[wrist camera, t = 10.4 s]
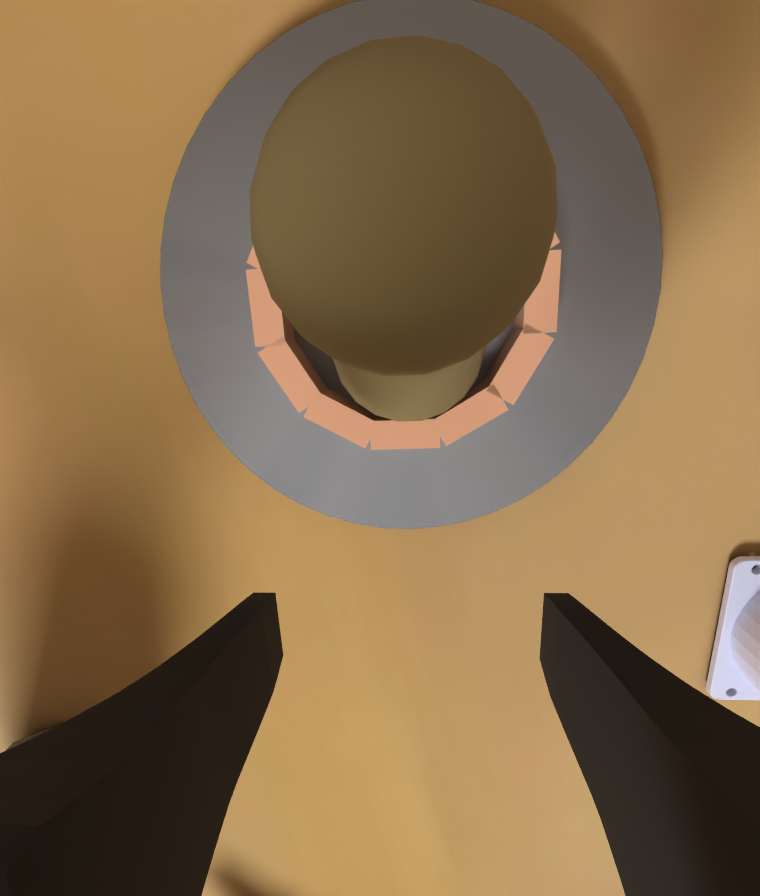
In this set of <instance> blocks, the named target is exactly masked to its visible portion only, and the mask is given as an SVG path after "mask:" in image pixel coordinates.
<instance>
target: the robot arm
mask: <svg viewBox="0 0 760 896" xmlns="http://www.w3.org/2000/svg"><path fill="white" fill-rule="evenodd" d="M755 565H757V566H756V568H754V569H753V570H751V569H752V567H754V566H755ZM282 658H283V650H282V642H281V634H280V626H279V619H278V611H277V603H276V595H275V593H253V594H251V595H250V596H249V597H247V598H246V599H245V600H244V601H242V602H241V603H240V604H239V605H237V606H236V607H235V608H234V609H232V610H231V611H230V612H229V613H228V614H226V615H225V616H224V617H223V618H221V619H220V620H219V621H218V622H216V623H215V624H214V625H213V626H211V627H210V628H209V629H208V630H206V631H205V632H204V633H203V634H202V635H200V636H199V637H198V638H196V639H195V640H194V641H192V642H191V643H190V644H188V645H187V646H186V647H184V648H183V649H182V650H180V651H179V652H178V653H176V654H175V655H174V656H172V657H171V658H169V659H168V660H167V661H165V662H164V663H163V664H161V665H160V666H158V667H157V668H155V669H154V670H153V671H151V672H150V673H148V674H147V675H145V676H144V677H142V678H141V679H139V680H137V681H136V682H134V683H133V684H131V685H129V686H128V687H126V688H125V689H123V690H121V691H120V692H118V693H116V694H115V695H113V696H111V697H110V698H108V699H106V700H104V701H103V702H101V703H99V704H97V705H95V706H94V707H92V708H90V709H88V710H86V711H85V712H83V713H81V714H79V715H77V716H75V717H74V718H72V719H70V720H68V721H66V722H65V723H63V724H61V725H59V726H57V727H55V728H53V729H51V730H49V731H47V732H45V733H43V734H41V735H39V736H37V737H35V738H32V739H30V740H28V741H26V742H24V743H22V744H20V745H17V746H15V747H13V748H11V749H9V750H7V751H4V752H2V753H0V896H201V895H202V891H203V888H204V884H205V881H206V878H207V874H208V871H209V867H210V864H211V860H212V857H213V854H214V850H215V847H216V844H217V841H218V837H219V834H220V831H221V828H222V825H223V821H224V818H225V815H226V812H227V808H228V805H229V802H230V800H231V797H232V794H233V791H234V789H235V786H236V783H237V781H238V778H239V776H240V773H241V771H242V768H243V766H244V763H245V761H246V759H247V756H248V754H249V751H250V749H251V746H252V744H253V741H254V739H255V736H256V734H257V732H258V729H259V727H260V724H261V722H262V719H263V717H264V714H265V712H266V709H267V707H268V704H269V702H270V699H271V696H272V694H273V691H274V687H275V684H276V680H277V677H278V673H279V669H280V665H281V661H282ZM540 661H541V665H542V668H543V672H544V676H545V679H546V683H547V686H548V689H549V693H550V696H551V699H552V701H553V704H554V706H555V709H556V711H557V714H558V716H559V719H560V721H561V723H562V726H563V728H564V731H565V733H566V735H567V738H568V740H569V742H570V745H571V747H572V749H573V752H574V754H575V757H576V759H577V761H578V764H579V766H580V768H581V771H582V773H583V776H584V778H585V780H586V783H587V785H588V787H589V790H590V792H591V794H592V797H593V800H594V802H595V805H596V808H597V810H598V813H599V815H600V818H601V821H602V824H603V827H604V830H605V833H606V836H607V839H608V842H609V845H610V848H611V851H612V854H613V857H614V860H615V864H616V867H617V870H618V873H619V876H620V879H621V882H622V885H623V889H624V892H625V895H626V896H760V727H758V726H756V725H755V724H753V723H751V722H749V721H747V720H746V719H744V718H742V717H741V716H739V715H737V714H735V713H734V712H732V711H730V710H728V709H727V708H725V707H724V706H722V705H720V704H719V703H717V702H716V701H714V700H712V699H711V698H709V697H708V696H706V695H704V694H703V693H701V692H699V691H698V690H696V689H695V688H693V687H692V686H690V685H689V684H687V683H686V682H684V681H683V680H681V679H680V678H678V677H677V676H675V675H674V674H672V673H671V672H670V671H668V670H667V669H665V668H664V667H662V666H661V665H660V664H658V663H657V662H655V661H654V660H653V659H651V658H650V657H648V656H647V655H646V654H644V653H643V652H642V651H640V650H639V649H638V648H636V647H635V646H634V645H632V644H631V643H630V642H629V641H627V640H626V639H625V638H623V637H622V636H621V635H620V634H618V633H617V632H616V631H615V630H613V629H612V628H611V627H610V626H608V625H607V624H606V623H605V622H603V621H602V620H601V619H600V618H598V617H597V616H596V615H595V614H594V613H592V612H591V611H590V610H589V609H587V608H586V607H585V606H584V605H583V604H581V603H580V602H579V601H578V600H576V599H575V598H574V597H572V596H571V595H570V594H568V593H544V602H543V617H542V633H541V648H540ZM706 690H707V692H708V693H709V694H710V695H711V696H712V697H713V698H715V699H723V700H760V556H740V557H737V558H735V559H733V560H732V561H731V562H730V565H729V569H728V574H727V579H726V584H725V590H724V595H723V600H722V605H721V611H720V616H719V621H718V626H717V631H716V637H715V642H714V647H713V652H712V658H711V663H710V668H709V673H708V679H707V684H706Z"/></svg>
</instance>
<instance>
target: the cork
mask: <svg viewBox="0 0 760 896" xmlns="http://www.w3.org/2000/svg"><path fill="white" fill-rule="evenodd" d="M250 219H251V239H252V243H253V246H254V250H255V253H256V256H257V259H258V262H259V265H260V268H261V270H262V273H263V276H264V279H265V282H266V284H267V287H268V290H269V293H270V296H271V298H272V299H273V301H274V302H275V303H276V305H277V306H278V307H279V308H280V310H281V311H282V312H283V314H284V315H285V316H286V317H287V319H288V320H289V321H290V323H291V324H292V325H293V326H294V328H295V329H296V330H297V332H298V333H299V334H300V335H301V336H302V337H303V338H305V339H306V340H307V341H308V342H310V343H311V344H313V345H314V346H316V347H317V348H319V349H320V350H322V351H323V352H325V353H326V354H328V355H329V356H331V357H332V358H333V360H334V363H335V366H336V369H337V372H338V375H339V377H340V380H341V383H342V384H343V386H344V387H345V388H346V390H347V391H348V392H349V394H350V395H351V396H352V397H353V399H354V400H355V401H356V402H357V403H358V404H360V405H361V406H363V407H364V408H366V409H367V410H369V411H370V412H372V413H373V414H375V415H377V416H380V417H384V418H387V419H391V420H394V421H398V422H401V421H423V420H425V419H428V418H431V417H434V416H436V415H439V414H442V413H445V412H446V411H447V410H449V409H450V408H451V407H452V406H454V405H455V404H456V403H458V402H459V401H460V400H461V399H463V398H464V397H465V395H466V394H467V392H468V391H469V389H470V388H471V386H472V385H473V384H474V382H475V381H476V379H477V378H478V374H479V371H480V368H481V364H482V361H483V358H484V354H485V348H486V345H487V344H488V343H490V342H491V341H492V340H493V339H495V338H496V337H497V336H499V335H500V334H501V333H502V332H504V331H505V330H506V329H507V327H508V326H509V325H510V324H511V323H512V322H513V320H514V319H515V317H516V316H517V315H518V313H519V312H520V310H521V309H522V307H523V306H524V304H525V303H526V301H527V300H528V298H529V297H530V296H531V294H532V293H533V291H534V290H535V288H536V287H537V285H538V284H539V282H540V280H541V277H542V274H543V270H544V267H545V264H546V260H547V257H548V254H549V250H550V247H551V243H552V240H553V237H554V233H555V227H556V221H557V185H556V165H555V162H554V159H553V156H552V154H551V151H550V148H549V146H548V143H547V140H546V137H545V135H544V132H543V129H542V127H541V124H540V121H539V119H538V117H537V115H536V113H535V111H534V110H533V108H532V106H531V104H530V103H529V102H528V101H527V100H526V98H525V97H524V96H523V95H522V93H521V92H520V91H519V90H518V89H517V87H516V86H515V85H514V84H513V82H512V81H511V80H510V79H509V78H508V76H507V75H506V74H505V73H504V71H503V70H502V69H501V68H499V67H497V66H496V65H494V64H492V63H491V62H489V61H487V60H486V59H484V58H482V57H481V56H479V55H478V54H476V53H474V52H473V51H471V50H469V49H468V48H466V47H464V46H463V45H459V44H455V43H450V42H446V41H441V40H436V39H432V38H427V37H423V36H418V35H414V36H405V37H396V38H386V39H377V40H370V41H367V42H365V43H363V44H361V45H358V46H356V47H354V48H352V49H349V50H347V51H345V52H343V53H340V54H338V55H336V56H334V57H331V58H329V59H327V60H326V61H325V62H324V63H323V64H321V65H320V66H319V67H318V68H317V69H316V70H315V71H313V72H312V73H311V74H310V75H309V76H308V77H306V78H305V79H304V80H303V81H302V82H301V83H300V84H298V85H297V86H296V87H295V88H294V89H293V90H292V91H291V93H290V94H289V96H288V97H287V99H286V101H285V102H284V104H283V105H282V107H281V109H280V110H279V112H278V113H277V115H276V116H275V118H274V120H273V121H272V123H271V124H270V126H269V128H268V129H267V132H266V135H265V138H264V140H263V143H262V147H261V150H260V154H259V158H258V161H257V165H256V169H255V172H254V176H253V180H252V183H251V187H250Z"/></svg>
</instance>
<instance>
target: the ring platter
mask: <svg viewBox="0 0 760 896" xmlns="http://www.w3.org/2000/svg"><path fill="white" fill-rule="evenodd" d="M414 35H418V36H423V37H427V38H432V39H436V40H441V41H446V42H450V43H455V44H459V45H463V46H464V47H466V48H468V49H469V50H471V51H473V52H474V53H476V54H478V55H479V56H481V57H482V58H484V59H486V60H487V61H489V62H491V63H492V64H494V65H496V66H497V67H499V68H501V69H502V70H503V71H504V73H505V74H506V75H507V76H508V78H509V79H510V80H511V81H512V82H513V84H514V85H515V86H516V87H517V89H518V90H519V91H520V92H521V93H522V95H523V96H524V97H525V98H526V100H527V101H528V102H529V103H530V104H531V106H532V108H533V110H534V111H535V113H536V115H537V117H538V119H539V121H540V124H541V127H542V129H543V132H544V135H545V137H546V140H547V143H548V146H549V148H550V151H551V154H552V156H553V159H554V162H555V165H556V185H557V221H556V227H555V233H554V237H553V240H552V243H551V247H550V250H549V254H548V257H547V260H546V264H545V267H544V270H543V274H542V277H541V280H540V282H539V284H538V285H537V287H536V288H535V290H534V291H533V293H532V294H531V296H530V297H529V298H528V300H527V301H526V303H525V304H524V306H523V307H522V309H521V310H520V312H519V313H518V315H517V316H516V317H515V319H514V320H513V322H512V323H511V324H510V325H509V326H508V327H507V329H506V330H505V331H504V332H502V333H501V334H500V335H499V336H497V337H496V338H495V339H493V340H492V341H491V342H490V343H488V344H487V345H486V348H485V354H484V358H483V361H482V364H481V368H480V371H479V374H478V378H477V379H476V381H475V382H474V384H473V385H472V386H471V388H470V389H469V391H468V392H467V394H466V395H465V397H464V398H463V399H461V400H460V401H459V402H458V403H456V404H455V405H454V406H452V407H451V408H450V409H449V410H447V411H446V412H445V413H442V414H439V415H436V416H434V417H431V418H428V419H425V420H423V421H401V422H398V421H394V420H391V419H387V418H384V417H380V416H377V415H375V414H373V413H372V412H370V411H369V410H367V409H366V408H364V407H363V406H361V405H360V404H358V403H357V402H356V401H355V400H354V399H353V397H352V396H351V395H350V394H349V392H348V391H347V390H346V388H345V387H344V386H343V384H342V383H341V380H340V377H339V375H338V372H337V369H336V366H335V363H334V360H333V358H332V357H331V356H329V355H328V354H326V353H325V352H323V351H322V350H320V349H319V348H317V347H316V346H314V345H313V344H311V343H310V342H308V341H307V340H306V339H305V338H303V337H302V336H301V335H300V334H299V333H298V332H297V330H296V329H295V328H294V326H293V325H292V324H291V323H290V321H289V320H288V319H287V317H286V316H285V315H284V314H283V312H282V311H281V310H280V308H279V307H278V306H277V305H276V303H275V302H274V301H273V299H272V298H271V296H270V293H269V290H268V287H267V284H266V282H265V279H264V276H263V273H262V270H261V268H260V265H259V262H258V259H257V256H256V253H255V250H254V246H253V243H252V239H251V219H250V187H251V183H252V180H253V176H254V172H255V169H256V165H257V161H258V158H259V154H260V150H261V147H262V143H263V140H264V138H265V135H266V132H267V129H268V128H269V126H270V124H271V123H272V121H273V120H274V118H275V116H276V115H277V113H278V112H279V110H280V109H281V107H282V105H283V104H284V102H285V101H286V99H287V97H288V96H289V94H290V93H291V91H292V90H293V89H294V88H295V87H296V86H297V85H298V84H300V83H301V82H302V81H303V80H304V79H305V78H306V77H308V76H309V75H310V74H311V73H312V72H313V71H315V70H316V69H317V68H318V67H319V66H320V65H321V64H323V63H324V62H325V61H326V60H327V59H329V58H331V57H334V56H336V55H338V54H340V53H343V52H345V51H347V50H349V49H352V48H354V47H356V46H358V45H361V44H363V43H365V42H367V41H370V40H377V39H386V38H396V37H405V36H414ZM662 254H663V251H662V237H661V224H660V214H659V209H658V204H657V199H656V195H655V190H654V185H653V180H652V177H651V174H650V171H649V168H648V166H647V163H646V160H645V157H644V154H643V152H642V149H641V146H640V143H639V141H638V139H637V137H636V135H635V134H634V132H633V130H632V128H631V126H630V124H629V122H628V120H627V119H626V117H625V115H624V113H623V111H622V109H621V108H620V106H619V105H618V103H617V102H616V101H615V99H614V98H613V97H612V95H611V94H610V93H609V91H608V90H607V89H606V87H605V86H604V85H603V83H602V82H601V80H600V79H599V78H598V77H597V76H596V75H595V74H594V73H593V72H592V71H591V70H590V69H589V68H588V67H587V66H586V65H585V64H584V63H583V62H582V61H581V60H580V59H579V58H578V57H577V56H576V55H575V54H574V53H573V52H572V51H571V50H570V49H569V48H567V47H566V46H564V45H563V44H562V43H560V42H559V41H558V40H556V39H555V38H553V37H552V36H551V35H549V34H548V33H546V32H545V31H544V30H542V29H541V28H539V27H538V26H536V25H534V24H532V23H530V22H528V21H526V20H524V19H522V18H520V17H518V16H516V15H514V14H511V13H509V12H507V11H505V10H503V9H500V8H496V7H493V6H490V5H487V4H483V3H480V2H477V1H474V0H361V1H356V2H352V3H349V4H346V5H344V6H341V7H338V8H335V9H333V10H330V11H327V12H325V13H322V14H319V15H317V16H315V17H313V18H311V19H309V20H308V21H306V22H304V23H302V24H300V25H298V26H297V27H295V28H293V29H291V30H289V31H288V32H286V33H284V34H283V35H281V36H280V37H279V38H277V39H276V40H275V41H273V42H272V43H271V44H270V45H268V46H267V47H266V48H264V49H263V50H262V51H260V52H259V53H258V54H256V55H255V56H254V57H253V58H252V59H251V60H250V61H249V62H248V63H247V64H246V65H245V66H244V67H243V68H242V69H241V70H240V71H239V72H238V73H237V74H236V75H235V76H234V77H233V78H232V79H231V80H230V81H229V82H228V83H227V85H226V86H225V87H224V89H223V90H222V91H221V93H220V94H219V95H218V97H217V98H216V99H215V101H214V102H213V103H212V105H211V106H210V108H209V109H208V110H207V112H206V113H205V114H204V116H203V118H202V120H201V122H200V124H199V125H198V127H197V129H196V131H195V133H194V134H193V136H192V138H191V140H190V142H189V144H188V145H187V148H186V150H185V153H184V155H183V158H182V160H181V163H180V166H179V168H178V171H177V173H176V176H175V178H174V181H173V185H172V189H171V193H170V197H169V201H168V205H167V209H166V213H165V219H164V227H163V235H162V243H161V291H162V300H163V308H164V317H165V321H166V325H167V329H168V334H169V338H170V342H171V346H172V350H173V352H174V355H175V358H176V361H177V363H178V366H179V369H180V372H181V374H182V377H183V379H184V381H185V383H186V385H187V387H188V389H189V391H190V393H191V395H192V397H193V399H194V401H195V403H196V405H197V407H198V408H199V410H200V411H201V413H202V414H203V416H204V417H205V419H206V421H207V422H208V424H209V425H210V427H211V428H212V430H213V431H214V432H215V433H216V435H217V436H218V437H219V438H220V439H221V441H222V442H223V443H224V444H225V445H226V447H227V448H228V449H229V450H230V451H231V453H232V454H233V455H234V456H236V457H237V458H238V459H239V460H240V461H241V462H242V463H243V464H244V465H245V466H246V467H247V468H248V469H249V470H250V471H251V472H252V473H254V474H255V475H256V476H258V477H259V478H260V479H262V480H263V481H264V482H266V483H267V484H268V485H270V486H271V487H272V488H274V489H275V490H277V491H278V492H280V493H282V494H284V495H285V496H287V497H289V498H290V499H292V500H294V501H296V502H297V503H299V504H301V505H303V506H306V507H308V508H310V509H313V510H315V511H317V512H320V513H322V514H324V515H327V516H330V517H334V518H337V519H341V520H344V521H348V522H351V523H355V524H361V525H367V526H373V527H379V528H397V529H416V528H430V527H439V526H444V525H450V524H455V523H460V522H465V521H468V520H471V519H474V518H477V517H480V516H484V515H487V514H490V513H493V512H495V511H497V510H499V509H501V508H504V507H506V506H508V505H510V504H512V503H515V502H517V501H519V500H521V499H522V498H524V497H526V496H527V495H529V494H530V493H532V492H534V491H535V490H537V489H539V488H540V487H542V486H544V485H545V484H546V483H548V482H549V481H550V480H552V479H553V478H554V477H555V476H557V475H558V474H559V473H560V472H562V471H563V470H564V469H565V468H567V467H568V466H569V465H570V464H571V463H572V462H573V461H574V460H575V459H576V458H577V457H578V456H579V455H580V454H581V453H582V452H583V451H584V450H585V449H586V448H587V447H588V446H589V445H590V444H591V443H592V442H593V441H594V440H595V438H596V437H597V436H598V434H599V433H600V432H601V431H602V429H603V428H604V427H605V426H606V424H607V423H608V422H609V421H610V419H611V418H612V417H613V415H614V413H615V412H616V410H617V408H618V407H619V405H620V403H621V402H622V400H623V398H624V397H625V395H626V394H627V392H628V390H629V389H630V386H631V384H632V382H633V380H634V378H635V375H636V373H637V371H638V369H639V367H640V364H641V362H642V360H643V358H644V355H645V351H646V348H647V345H648V342H649V339H650V336H651V332H652V329H653V326H654V322H655V317H656V311H657V306H658V300H659V295H660V289H661V272H662Z"/></svg>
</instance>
